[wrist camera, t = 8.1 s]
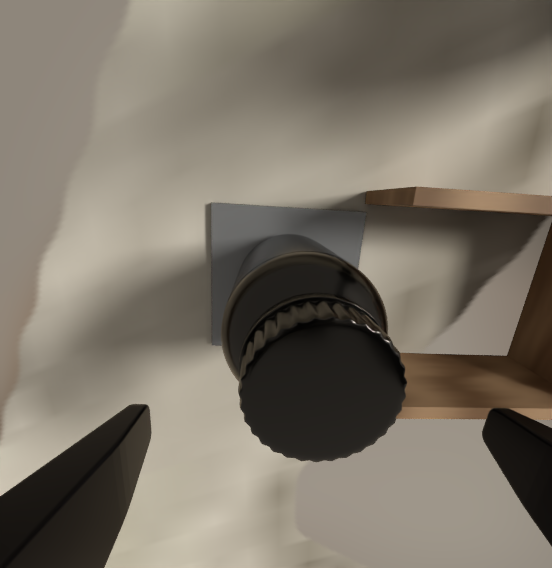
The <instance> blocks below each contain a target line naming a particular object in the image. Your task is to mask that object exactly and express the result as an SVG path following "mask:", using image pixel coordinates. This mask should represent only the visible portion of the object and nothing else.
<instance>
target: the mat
mask: <svg viewBox="0 0 552 568" xmlns="http://www.w3.org/2000/svg"><path fill="white" fill-rule="evenodd" d="M365 219H366V212H356V211H340V210H324V209H308V208H292V207H275V206H259V205H243V204H227V203H211V249H212V345H220V346H222V343H221V325H222V319H223V314H224V310H225V307H226V304H227V301H228V299H229V296H230V293H231V291H232V288H233V285H234V283H235V280H236V277H237V275H238V272H239V269H240V267H241V265H242V263H243V261H244V259H245V258H246V256H247V255H248V253H249V252H250V251H251V250H252V249H253V248H254V247H255V246H257V245H258V244H259V243H261V242H262V241H264V240H266V239H268V238H270V237H273V236H277V235H282V234H296V235H302V236H305V237H308V238H310V239H313V240H314V241H316V242H318V243H320V244H321V245H323V246H324V247H326V248H327V249H329V250H331V251H332V252H334V253H335V254H337V255H338V256H340V257H341V258H343V259H344V260H346V261H347V262H349V263H350V264H352V265H353V266H355V267H356V268H357V269H358V266H359V259H360V252H361V246H362V239H363V232H364V225H365Z"/></svg>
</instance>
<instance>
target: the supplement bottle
mask: <svg viewBox="0 0 552 568" xmlns="http://www.w3.org/2000/svg"><path fill="white" fill-rule="evenodd" d="M221 343H222V349H223V353H224V356H225V359H226V362H227V364H228V366H229V368H230V370H231V372H232V373H233V375H234V376H235V378H236V379H237V380H238V381H239V387H238V392H239V396H240V408H241V410H242V412H243V413H244V420H245V422H246V423H247V424H248V425H249V426H250V427H251V432H252V434H254V435H255V436H257V437H259V440H260V442H261V443H262V444H264V445H267V446H269V447H270V448H271V450H272V451H273V452H277V453H282V454H283V455H284V456H285V457H287V458H296V459H298V460H300V461H307V460H310V461H313V462H319V461H323V460H327V461H333V460H335V459H338V458H347V457H348V456H350V455H351V454H353V453H358V452H361V451H362V450H363V449H364V448H366V447H367V446H370V445H373V444H374V443H375V442H376V441H377V439H378V438H380V437H381V436H383V435H385V434H386V432H387V430H388V428H389V427H390V426H391V425H393V424H394V423H395V420H396V416H397V415H398V414H399V413H400V412H401V411H402V403H403V401H404V399H405V398H406V393H405V388H406V385H407V380H406V378H405V376H404V375H405V366H404V364H403V363H402V362H401V356H400V353H399V351H398V350H397V348H396V347H395V346H394V345H393V343H392V341H391V339H390V337H389V336H388V322H387V315H386V310H385V307H384V304H383V301H382V299H381V297H380V295H379V293H378V291H377V289H376V288H375V286H374V285H373V284H372V282H371V281H370V280H369V279H368V278H367V277H366V276H365V275H364V274H363V273H362V272H361V271H360V270H358V269H357V268H356V267H355V266H353V265H352V264H350V263H349V262H347V261H346V260H344V259H343V258H341V257H340V256H338V255H337V254H335V253H334V252H332V251H331V250H329V249H327V248H326V247H324V246H323V245H321V244H320V243H318V242H316V241H314V240H313V239H310V238H308V237H305V236H302V235H296V234H282V235H277V236H273V237H270V238H268V239H266V240H264V241H262V242H261V243H259V244H258V245H257V246H255V247H254V248H253V249H252V250H251V251H250V252H249V253H248V255H247V256H246V258H245V259H244V261H243V263H242V265H241V267H240V269H239V272H238V275H237V277H236V280H235V283H234V285H233V288H232V291H231V293H230V296H229V299H228V301H227V304H226V307H225V310H224V314H223V319H222V325H221Z"/></svg>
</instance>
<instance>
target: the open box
mask: <svg viewBox="0 0 552 568" xmlns="http://www.w3.org/2000/svg"><path fill="white" fill-rule="evenodd" d="M365 204H373V205H388V206H404V207H420V208H435V209H451V210H466V211H482V212H497V213H513V214H528V215H544V216H552V196H543V195H528V194H514V193H500V192H485V191H471V190H457V189H442V188H428V187H408V188H397V189H386V190H375V191H367V194H366V201H365ZM400 356H401V362H402V363H403V364H404V366H405V375H404V376H405V378H406V380H407V385H406V388H405V393H406V398H405V399H404V401H403V403H402V411H401V412H400V413H399V414H398V415H397V416H396V419H398V418H399V419H404V418H405V419H412V418H413V419H487V416H488V413H489V411H490V410H491V409H492V408H509V409H512V410H514V411H516V412H518V413H520V414H522V415H524V416H527V417H529V418H531V419H533V420H537V419H538V420H552V223H551V226H550V229H549V232H548V235H547V238H546V241H545V244H544V247H543V250H542V253H541V256H540V259H539V262H538V265H537V268H536V271H535V274H534V277H533V280H532V283H531V286H530V289H529V292H528V295H527V298H526V301H525V304H524V307H523V310H522V313H521V316H520V319H519V322H518V325H517V328H516V331H515V334H514V337H513V340H512V343H511V346H510V349H509V352H508V355H507V356H492V355H452V354H414V353H400Z"/></svg>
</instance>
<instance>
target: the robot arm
mask: <svg viewBox="0 0 552 568" xmlns="http://www.w3.org/2000/svg"><path fill="white" fill-rule="evenodd" d="M482 436H483V440H484V442H485V444H486V446H487V447H488V449H489V451H490V452H491V454H492V456H493V457H494V459H495V460H496V462H497V464H498V465H499V467H500V468H501V470H502V472H503V474H504V475H505V477H506V478H507V480H508V482H509V483H510V485H511V487H512V488H513V490H514V492H515V493H516V495H517V497H518V498H519V500H520V501H521V503H522V504H523V506H524V507H525V509H526V510H527V512H528V513H529V515H530V516H531V518H532V519H533V521H534V522H535V523H536V525H537V526H538V528H539V529H540V530H541V532H542V533H543V535H544V536H545V537H546V539H547V540H548V542H549V543H550V545H551V546H552V428H550V427H548V426H546V425H544V424H542V423H539V422H537V421H535V420H533V419H531V418H529V417H527V416H524V415H522V414H520V413H518V412H516V411H514V410H512V409H509V408H492V409H491V410H490V411H489V413H488V416H487V419H486V422H485V425H484V428H483V431H482ZM150 439H151V420H150V409H149V406H148V405H146V404H132V405H129V406H128V407H126V408H125V409H123V410H122V411H120V412H119V413H118V414H116V415H115V416H113V417H112V418H111V419H109V420H108V421H106V422H105V423H103V424H102V425H101V426H99V427H98V428H96V429H95V430H94V431H92V432H91V433H89V434H88V435H87V436H85V437H84V438H82V439H81V440H79V441H78V442H77V443H75V444H74V445H72V446H71V447H70V448H68V449H67V450H65V451H64V452H62V453H61V454H60V455H58V456H57V457H55V458H54V459H53V460H51V461H50V462H48V463H47V464H45V465H44V466H43V467H41V468H40V469H38V470H37V471H36V472H34V473H33V474H31V475H30V476H28V477H27V478H26V479H24V480H23V481H21V482H20V483H19V484H17V485H16V486H14V487H13V488H11V489H10V490H9V491H7V492H6V493H4V494H3V495H2V496H0V568H104V567H105V565H106V562H107V560H108V558H109V555H110V553H111V551H112V548H113V546H114V543H115V541H116V539H117V536H118V534H119V532H120V529H121V527H122V524H123V522H124V519H125V517H126V514H127V512H128V509H129V506H130V503H131V500H132V497H133V493H134V490H135V487H136V484H137V481H138V478H139V474H140V471H141V468H142V465H143V462H144V459H145V456H146V452H147V449H148V446H149V443H150Z"/></svg>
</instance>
